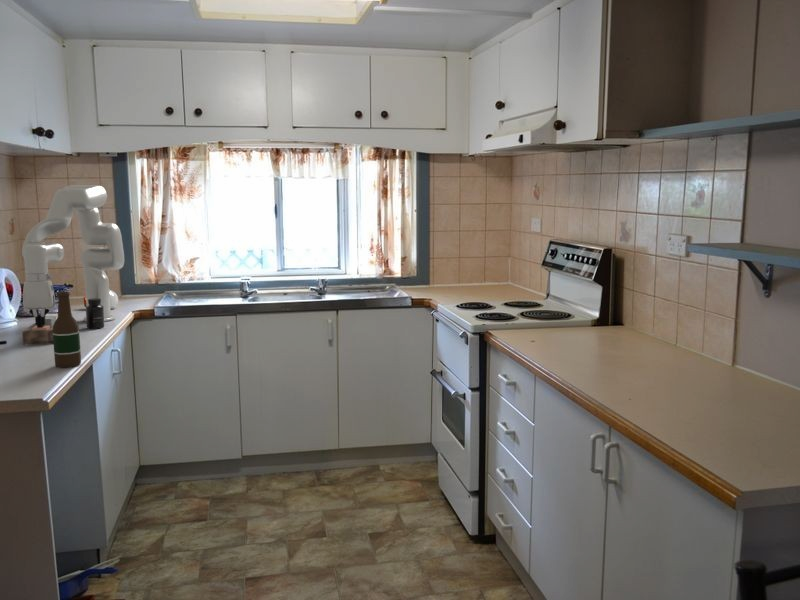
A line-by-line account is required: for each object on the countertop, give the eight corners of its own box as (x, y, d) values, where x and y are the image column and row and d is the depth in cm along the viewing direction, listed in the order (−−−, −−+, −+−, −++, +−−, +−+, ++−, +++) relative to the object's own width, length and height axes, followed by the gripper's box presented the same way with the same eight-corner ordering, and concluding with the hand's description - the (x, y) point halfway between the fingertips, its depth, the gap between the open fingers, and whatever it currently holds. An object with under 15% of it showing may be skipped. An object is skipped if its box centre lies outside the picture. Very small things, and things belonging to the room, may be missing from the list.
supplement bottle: (98, 329, 288) (96, 300, 287) (83, 329, 290) (81, 299, 288) (108, 326, 295) (106, 298, 293) (93, 325, 296) (91, 297, 295)
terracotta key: (36, 336, 266) (35, 325, 265) (50, 335, 267) (50, 325, 266) (32, 339, 261) (31, 328, 260) (47, 338, 262) (46, 327, 262)
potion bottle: (120, 312, 339) (87, 316, 337) (122, 298, 346) (90, 302, 344) (114, 298, 332) (81, 302, 330) (116, 284, 339) (83, 288, 337)
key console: (23, 344, 260) (22, 331, 259) (38, 333, 280) (37, 321, 279) (55, 343, 262) (54, 330, 261) (68, 332, 282) (68, 320, 282)
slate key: (40, 327, 272) (40, 317, 272) (55, 326, 273) (54, 316, 273) (37, 329, 268) (36, 319, 267) (51, 329, 269) (51, 318, 268)
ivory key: (45, 324, 279) (45, 314, 278) (59, 323, 280) (58, 313, 280) (42, 326, 274) (41, 316, 274) (56, 325, 275) (55, 315, 275)
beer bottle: (49, 367, 226) (44, 293, 222) (65, 362, 234) (60, 289, 230) (71, 368, 225) (66, 294, 221) (86, 363, 232) (81, 290, 229)
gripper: (61, 276, 266) (64, 324, 269) (18, 277, 263) (21, 325, 265) (56, 278, 259) (60, 328, 261) (11, 279, 255) (15, 329, 258)
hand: (40, 326), depth 263 cm, fingers closed
